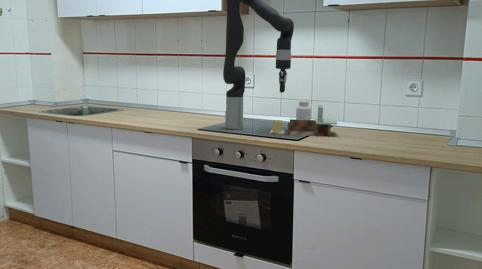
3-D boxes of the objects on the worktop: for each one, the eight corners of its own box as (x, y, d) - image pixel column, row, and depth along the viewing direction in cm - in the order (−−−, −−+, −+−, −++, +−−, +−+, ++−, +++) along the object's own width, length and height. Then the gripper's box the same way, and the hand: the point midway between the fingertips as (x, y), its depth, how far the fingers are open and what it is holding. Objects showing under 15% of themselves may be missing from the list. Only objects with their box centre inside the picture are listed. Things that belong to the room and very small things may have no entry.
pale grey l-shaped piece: (316, 124, 219) (316, 108, 218) (315, 120, 232) (316, 104, 230) (337, 124, 218) (337, 108, 216) (335, 120, 230) (336, 105, 229)
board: (268, 136, 223) (268, 122, 222) (270, 131, 236) (270, 118, 235) (330, 138, 219) (330, 124, 218) (328, 134, 232) (329, 120, 231)
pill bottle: (299, 127, 252) (300, 100, 250) (312, 128, 248) (313, 101, 246) (293, 129, 246) (294, 101, 243) (307, 130, 242) (308, 102, 239)
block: (281, 132, 226) (281, 121, 225) (272, 132, 227) (272, 121, 226) (282, 130, 231) (282, 120, 230) (273, 130, 231) (273, 119, 230)
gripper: (290, 59, 217) (289, 93, 220) (291, 58, 231) (290, 90, 234) (274, 59, 218) (273, 92, 221) (276, 58, 232) (275, 90, 235)
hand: (282, 91), depth 228 cm, fingers open, 8 cm apart
